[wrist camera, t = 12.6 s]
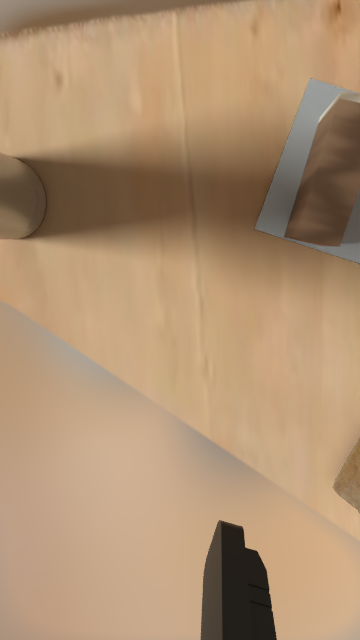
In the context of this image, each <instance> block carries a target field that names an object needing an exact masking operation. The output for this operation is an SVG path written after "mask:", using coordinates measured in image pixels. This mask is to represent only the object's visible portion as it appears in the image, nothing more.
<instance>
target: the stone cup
mask: <svg viewBox="0 0 360 640" xmlns="http://www.w3.org/2000/svg"><path fill="white" fill-rule="evenodd" d="M333 489H334V490H335V491H336V493H337V494H338V495H339V496H340V497H342V498H343V499H345V500H346V501H347V502H348V503H349V504H351V505H352V506H353V507H355V508H356V509H358V511H359V513H360V438H359V440H358V442H357V444H356V445H355V447H354V449H353V450H352V452H351V454H350V455H349V457H348V459H347V461H346V463H345V464H344V466H343V468H342V470H341V472H340V473H339V475H338V477H337V478H336V480H335V483H334V485H333Z"/></svg>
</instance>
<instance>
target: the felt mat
mask: <svg viewBox="0 0 360 640" xmlns="http://www.w3.org/2000/svg"><path fill="white" fill-rule="evenodd" d="M341 91H347V92H352V93H356V92H353V91H350V90H347V89H343V88H340V87H337V86H334V85H331V84H328V83H324V82H321V81H318V80H315V79H312V78H310V80H309V82H308V85H307V88H306V90H305V93H304V96H303V99H302V101H301V104H300V107H299V109H298V112H297V115H296V118H295V120H294V123H293V126H292V128H291V131H290V134H289V137H288V139H287V142H286V145H285V147H284V150H283V153H282V156H281V158H280V161H279V164H278V166H277V169H276V172H275V175H274V177H273V180H272V183H271V185H270V188H269V191H268V194H267V196H266V199H265V202H264V204H263V207H262V210H261V213H260V215H259V218H258V221H257V223H256V226H255V229H256V230H259V231H262V232H265V233H268V234H271V235H274V236H277V237H280V238H283V239H286V240H289V241H292V242H295V243H298V244H301V245H304V246H307V247H310V248H313V249H316V250H319V251H322V252H325V253H328V254H331V255H334V256H337V257H340V258H343V259H346V260H349V261H352V262H355V263H358V264H360V190H359V192H358V195H357V198H356V201H355V204H354V207H353V210H352V213H351V215H350V218H349V221H348V224H347V227H346V230H345V233H344V235H343V238H342V241H341V244H340V247H339V246H320V245H315V244H311V243H307V242H303V241H298V240H294V239H290V238H285V237H284V235H285V231H286V228H287V225H288V221H289V218H290V215H291V211H292V208H293V205H294V202H295V198H296V195H297V192H298V188H299V185H300V182H301V178H302V175H303V172H304V168H305V165H306V162H307V159H308V155H309V152H310V149H311V145H312V142H313V139H314V135H315V132H316V129H317V125H318V122H319V119H320V117H321V115H322V114H323V113H324V112H325V110H326V109H327V108H328V107H329V106H330V104H331V103H332V102H333V101H334V100H335V98H336V97H337V96H338V95H339V94H340V92H341ZM357 94H359V93H357Z"/></svg>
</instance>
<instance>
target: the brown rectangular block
mask: <svg viewBox="0 0 360 640" xmlns="http://www.w3.org/2000/svg"><path fill="white" fill-rule="evenodd" d="M359 190H360V94H357V93H352V92H347V91H341V92H340V94H339V95H338V96H337V97H336V98H335V100H334V101H333V102H332V103H331V104H330V106H329V107H328V108H327V109H326V110H325V112H324V113H323V114H322V115H321V117H320V119H319V122H318V125H317V129H316V132H315V135H314V139H313V142H312V145H311V149H310V152H309V155H308V159H307V162H306V165H305V168H304V172H303V175H302V178H301V182H300V185H299V188H298V192H297V195H296V198H295V202H294V205H293V208H292V211H291V215H290V218H289V221H288V225H287V228H286V231H285V235H284V237H285V238H290V239H294V240H298V241H303V242H307V243H311V244H315V245H320V246H339V247H340V244H341V241H342V238H343V235H344V233H345V230H346V227H347V224H348V221H349V218H350V215H351V213H352V210H353V207H354V204H355V201H356V198H357V195H358V192H359Z"/></svg>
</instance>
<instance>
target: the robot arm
mask: <svg viewBox="0 0 360 640" xmlns="http://www.w3.org/2000/svg"><path fill="white" fill-rule="evenodd" d="M45 210H46V196H45V192H44V188H43V185H42V183H41V181H40V179H39V177H38V176H37V175H36V173H35V172H34V171H33V170H32V169H31V168H30V167H29V166H28V165H27V164H25V163H23V162H22V161H20V160H17V159H15V158H13V157H10V156H8V155H5V154H3V153H0V239H21V238H24V237H26V236H29V235H30V234H32V233H33V232H34V231H35V230H36V229H37V228H38V227H39V226H40V224H41V222H42V220H43V218H44V214H45ZM271 609H272V605H271V598H270V594H269V584H268V578H267V571H266V568H265V566H264V564H263V562H262V560H261V558H260V556H259V554H258V552H257V551H255V550H251V549H248V548H245V540H244V530H243V527H242V526H238V525H234V524H231V523H227V522H224V521H219V522H218V524H217V527H216V530H215V533H214V536H213V539H212V542H211V545H210V549H209V551H208V555H207V559H206V563H205V569H204V578H203V598H202V622H201V640H277V639H276V632H275V625H274V618H273V612H272V610H271Z"/></svg>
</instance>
